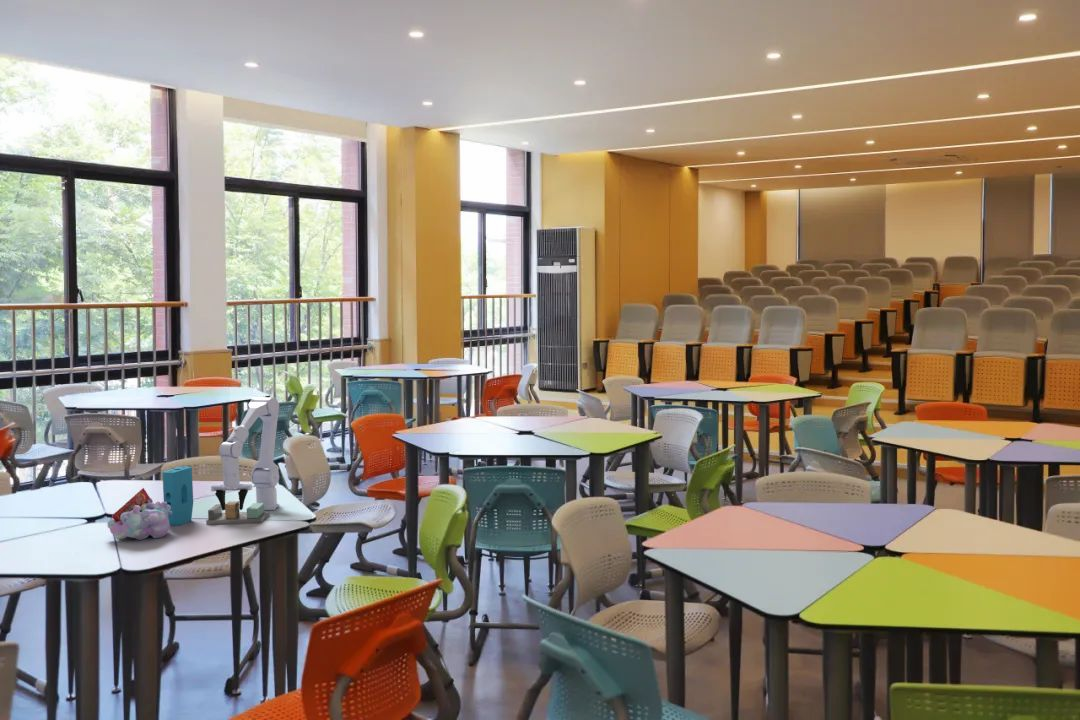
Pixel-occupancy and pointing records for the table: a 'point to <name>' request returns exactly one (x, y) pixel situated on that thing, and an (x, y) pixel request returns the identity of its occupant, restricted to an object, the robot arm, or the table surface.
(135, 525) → the lumpy lavender blob
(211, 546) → the table surface
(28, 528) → the table surface
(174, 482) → the block
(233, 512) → the walnut block
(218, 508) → the vise
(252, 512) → the block
